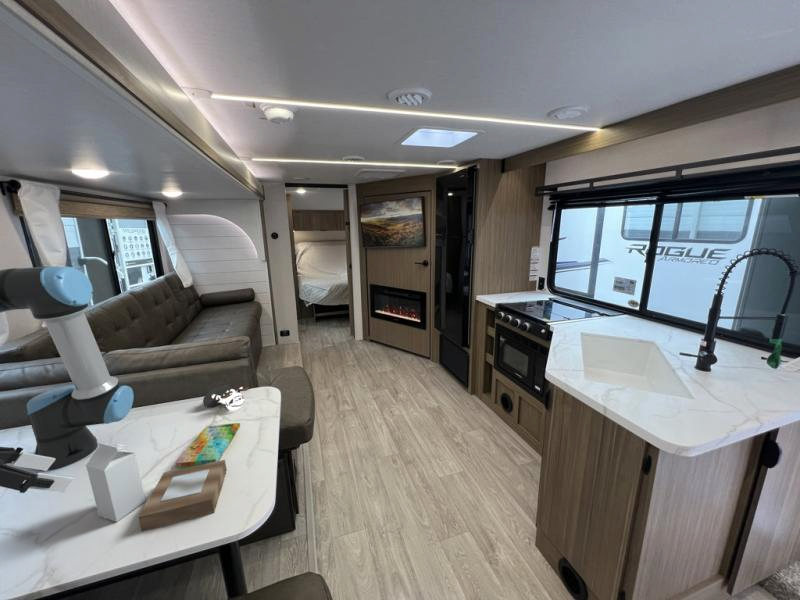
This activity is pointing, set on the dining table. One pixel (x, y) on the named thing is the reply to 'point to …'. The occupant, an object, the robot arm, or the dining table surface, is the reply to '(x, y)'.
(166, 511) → the walnut riser
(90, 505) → the dining table surface
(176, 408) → the dining table surface
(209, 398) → the figurine
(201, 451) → the puzzle game
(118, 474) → the milk carton
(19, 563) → the dining table surface
